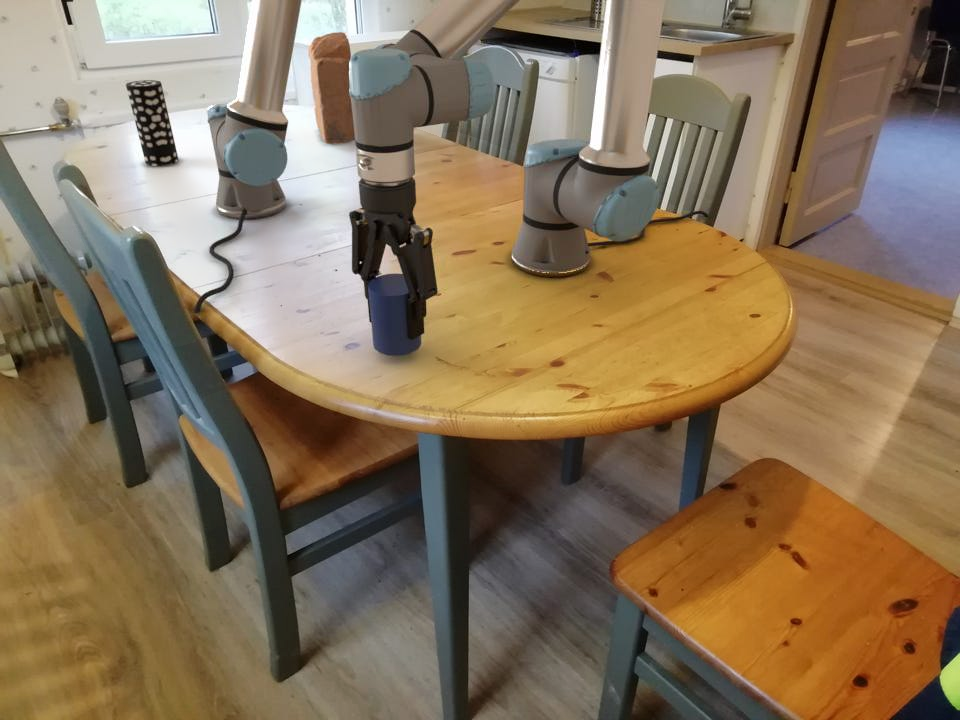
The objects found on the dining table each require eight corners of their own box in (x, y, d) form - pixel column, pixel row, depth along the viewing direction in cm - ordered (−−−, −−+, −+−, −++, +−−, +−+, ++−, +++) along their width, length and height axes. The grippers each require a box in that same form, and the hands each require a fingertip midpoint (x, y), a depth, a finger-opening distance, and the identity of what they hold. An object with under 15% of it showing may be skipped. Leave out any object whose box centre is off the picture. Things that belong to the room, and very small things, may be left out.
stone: (363, 142, 203) (354, 38, 189) (325, 145, 200) (313, 39, 186) (351, 127, 221) (342, 31, 207) (316, 130, 218) (304, 32, 204)
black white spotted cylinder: (184, 157, 190) (167, 80, 179) (169, 166, 183) (151, 87, 172) (155, 156, 190) (136, 79, 179) (139, 165, 183) (119, 86, 172)
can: (431, 340, 106) (428, 281, 100) (400, 361, 101) (396, 300, 95) (395, 326, 109) (391, 269, 104) (363, 346, 104) (357, 286, 99)
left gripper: (-134, -137, 94) (-69, 33, 106) (70, -129, 105) (109, 24, 116) (-126, -134, 100) (-65, 27, 111) (67, -127, 110) (104, 19, 122)
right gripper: (313, 169, 94) (331, 316, 106) (425, 201, 84) (431, 360, 96) (354, 157, 99) (366, 298, 111) (464, 186, 89) (464, 338, 101)
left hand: (24, 26), depth 114 cm, fingers open, 13 cm apart
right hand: (396, 327), depth 104 cm, fingers closed on can, 7 cm apart
